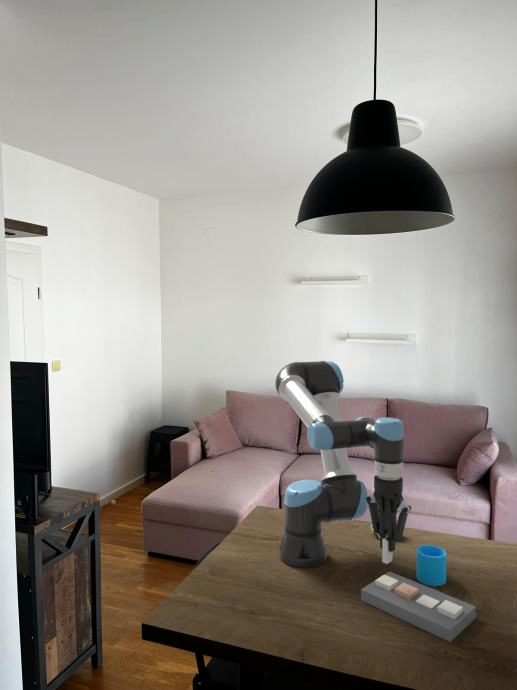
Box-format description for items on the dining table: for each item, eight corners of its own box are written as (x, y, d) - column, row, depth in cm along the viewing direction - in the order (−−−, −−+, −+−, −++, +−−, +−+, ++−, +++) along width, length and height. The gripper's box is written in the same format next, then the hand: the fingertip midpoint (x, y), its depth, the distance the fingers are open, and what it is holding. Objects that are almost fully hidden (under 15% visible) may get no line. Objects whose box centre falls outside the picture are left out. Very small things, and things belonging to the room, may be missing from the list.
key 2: (394, 599, 138) (394, 588, 138) (403, 593, 141) (403, 582, 141) (409, 606, 135) (409, 594, 135) (418, 599, 138) (418, 588, 138)
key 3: (415, 612, 134) (415, 601, 134) (423, 605, 137) (423, 594, 137) (431, 619, 131) (431, 608, 131) (439, 612, 134) (439, 601, 134)
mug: (447, 587, 147) (447, 559, 146) (417, 583, 149) (417, 555, 148) (443, 567, 158) (444, 541, 158) (415, 564, 160) (415, 538, 160)
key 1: (375, 590, 142) (375, 580, 142) (384, 584, 145) (384, 574, 145) (389, 597, 139) (389, 586, 139) (398, 590, 142) (398, 580, 142)
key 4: (437, 618, 130) (437, 606, 129) (445, 611, 133) (445, 600, 132) (454, 626, 126) (454, 614, 126) (462, 618, 129) (462, 606, 129)
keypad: (360, 600, 140) (361, 589, 140) (389, 581, 150) (389, 571, 150) (450, 642, 122) (450, 630, 122) (475, 618, 132) (476, 606, 132)
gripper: (360, 473, 142) (359, 557, 144) (402, 484, 133) (401, 574, 134) (375, 468, 148) (374, 549, 149) (417, 478, 138) (416, 564, 140)
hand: (387, 561), depth 142 cm, fingers closed
